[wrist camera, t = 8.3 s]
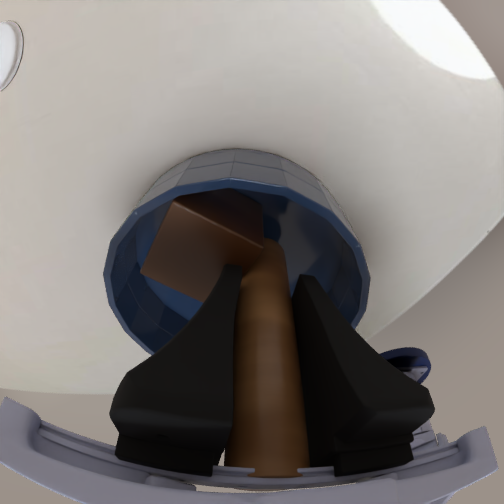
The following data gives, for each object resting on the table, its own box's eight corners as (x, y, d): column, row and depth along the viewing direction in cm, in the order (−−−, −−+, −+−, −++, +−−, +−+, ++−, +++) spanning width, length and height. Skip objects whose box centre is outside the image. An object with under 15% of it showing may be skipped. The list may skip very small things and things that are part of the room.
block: (224, 259, 17) (218, 310, 14) (161, 228, 16) (138, 273, 12) (262, 204, 15) (265, 248, 12) (192, 166, 14) (172, 200, 11)
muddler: (292, 264, 16) (322, 484, 6) (252, 281, 16) (250, 493, 7) (272, 229, 14) (291, 472, 5) (229, 249, 15) (204, 480, 6)
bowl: (310, 336, 22) (318, 387, 18) (140, 314, 20) (123, 363, 17) (375, 176, 15) (412, 214, 11) (132, 136, 13) (91, 163, 10)
